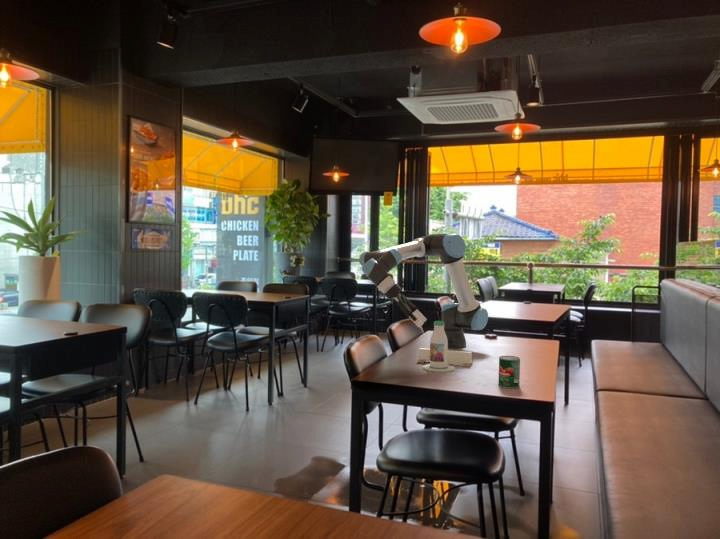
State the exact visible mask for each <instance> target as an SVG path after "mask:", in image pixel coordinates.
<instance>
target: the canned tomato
mask: <svg viewBox="0 0 720 539" xmlns="http://www.w3.org/2000/svg"><path fill="white" fill-rule="evenodd" d="M498 357H499V358H498V387H500V388H505V389H518V388H520V380H521V379H520V378H521V377H520V376H521V374H520V372H521V357H519V356H515V355H501V356H498Z"/></svg>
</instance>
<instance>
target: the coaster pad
mask: <svg viewBox="0 0 720 539" xmlns="http://www.w3.org/2000/svg"><path fill="white" fill-rule="evenodd" d="M422 369H423V370H424V369H425V371H427V370H428V371H427V372H433V371H434V372H435V373H448V372H454V371H455V370H456V368H455V366H453V365H452V364H448V365H447V367H446V368H433V367H431V366H430V363H428V364H424V365H422Z"/></svg>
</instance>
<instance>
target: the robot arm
mask: <svg viewBox="0 0 720 539" xmlns="http://www.w3.org/2000/svg"><path fill="white" fill-rule="evenodd" d="M466 247H467V244H466V242H465V240H464V238H463V237H462V236H461V235H459V234H457V233H432V234H427V235H425V236H421V237H417V238H414V239H413V240H412V241H409V242H406V243H402V244H397V245H394V246H390V247H386V248H381V249H379V250H373V251H363V252H362V253H361V254H360V256H359V259H358V260H359V265H360V266H361V271H362V272H363V274H364V275H365V276H366V277H367V279H369V281H370V282H372V283H373V284H374V285H375V287H376V288H377V289H378V292H379V291H380V292H381V293H383V294H384V296H385V297H386V299H388V301H393V302H394V303H396V305H397V306H398V308H399V309H400V310H401V311H402V313H403V314H404V316H405V317H406V318H409V319H410V321H412V322H413V323H414V324H415V326H416V327H418V328H419V329H420V328H421V327H422V326H423V325H425V324H424V323H426V322H427V320H428V319H427V317H425V316H424V314H423V313H422V312H421V311H419V307H418V305H415V304H414V303H413V302H411V301H410V300H409V299H408V298H407V297H406V296H405V294H403V293H400V292H401V291H402V287H401V286H400V285H399V283H396V281H395V280H394V278H392V276H391V275H389V274H388V273H389V272H391V271H392V270H393V269H394V268H396V267H397V266H398V265H399V264H400V263H401V262H402V261H403V260H404V261H405V260H407V259H410V258H415V257H417V258H423V257H433V258H434V257H435V258H439V259H440V261H441V264H443V265H445V268H446V270H447V273H448V276H449V279H450V282H451V285H452V287H453V291H454V293H455V296H456V299H457V302H453V303H444V304H442V307H441V321H444V331H445V334H446V336H447V340H448V349H449V348H450V349H462V348H466V347H467V341H466V336H465V334H464V329H466V330H467V329H468V330H472V331H481V330H483V329H484V328H485V327H486V325H487V323H488V321H489V312H488V310H487V309H486V308H484V307H482V306H481V303H480V301H479V300H477V299H476V297H475V294H474V292H473V289H472V286H471V282H470V280H469V277H468V274H467V270H466V267H465V264H464V261H463V259H464V257H465V253H466Z"/></svg>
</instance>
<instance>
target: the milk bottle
mask: <svg viewBox="0 0 720 539" xmlns="http://www.w3.org/2000/svg"><path fill="white" fill-rule="evenodd" d="M433 327H434V328H433V331H432V334H431V336H430V341H429V349H430V363H429V364H430V366H431V367H433V368H446V367H447V365H449V364H448V350H449V348H448V340H447V336H446V334H445V331H444V321H442V320H435V321H433Z"/></svg>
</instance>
